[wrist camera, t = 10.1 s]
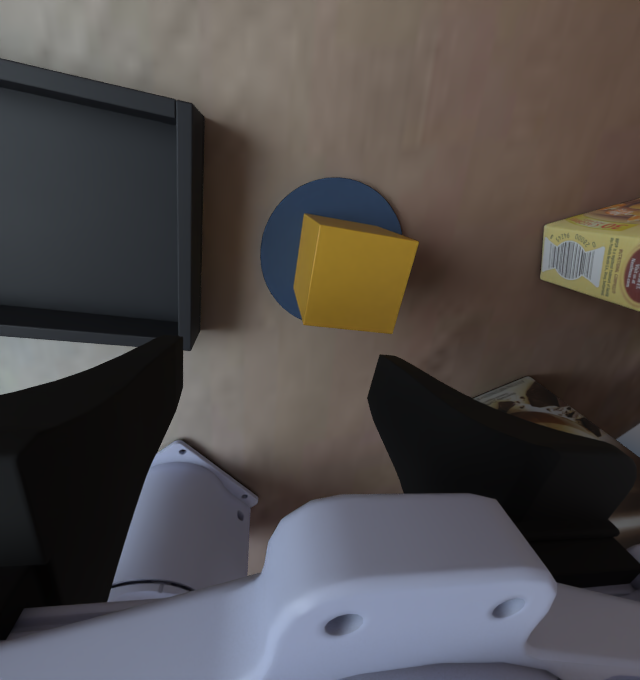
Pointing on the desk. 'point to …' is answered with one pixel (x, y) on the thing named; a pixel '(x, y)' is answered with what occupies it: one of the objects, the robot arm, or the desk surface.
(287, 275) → the coaster
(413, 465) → the robot arm
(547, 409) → the coffee box
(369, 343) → the desk surface
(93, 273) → the tray
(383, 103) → the desk surface
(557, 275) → the candy box
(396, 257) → the block
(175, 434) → the desk surface
